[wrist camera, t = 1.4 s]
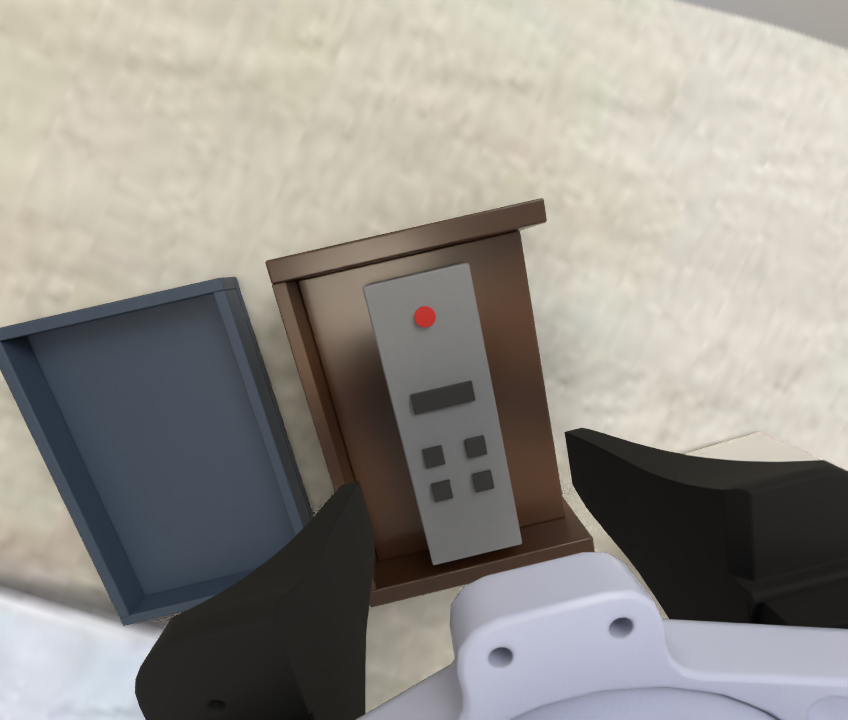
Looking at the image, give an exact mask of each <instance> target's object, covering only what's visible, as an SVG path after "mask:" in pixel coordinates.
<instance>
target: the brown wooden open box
mask: <svg viewBox="0 0 848 720" xmlns="http://www.w3.org/2000/svg"><path fill="white" fill-rule="evenodd" d="M546 220H547V219H546V212H545V205H544V200H543V199H542V198H540V199H536V200H532V201H527V202H523V203H518V204H514V205H510V206H505V207H501V208H496V209H492V210H488V211H483V212H479V213H474V214H470V215H465V216H461V217H457V218H452V219H448V220H443V221H439V222H435V223H430V224H426V225H421V226H417V227H413V228H408V229H404V230H399V231H395V232H391V233H386V234H382V235H377V236H373V237H369V238H364V239H360V240H355V241H351V242H347V243H342V244H338V245H333V246H329V247H325V248H320V249H316V250H311V251H307V252H302V253H298V254H294V255H289V256H285V257H280V258H276V259H272V260H267V261H266V266H267V270H268V273H269V276H270V279H271V283H272V284H273V285H272V287H273V290H274V294H275V297H276V300H277V304H278V307H279V310H280V313H281V317H282V320H283V323H284V326H285V330H286V333H287V336H288V340H289V343H290V346H291V349H292V353H293V356H294V359H295V363H296V366H297V369H298V372H299V376H300V379H301V382H302V386H303V389H304V392H305V395H306V399H307V402H308V405H309V409H310V412H311V415H312V418H313V422H314V425H315V428H316V431H317V435H318V438H319V441H320V445H321V448H322V451H323V454H324V458H325V461H326V464H327V468H328V471H329V474H330V477H331V481H332V484H333V487H334V491H335V492H336V491H337V489H338V488H339V487H340V486H341V485H344V484H349V483H353V482H357V481H359V482H360V486H361V489H362V493H363V496H364V499H365V503H366V506H367V510H368V513H369V517H370V520H371V524H372V527H373V531H374V552H375V560H374V570H373V578H372V587H371V595H370V603H369V604H370V607H375V606H379V605H383V604H387V603H391V602H395V601H399V600H404V599H408V598H412V597H416V596H420V595H424V594H428V593H432V592H436V591H441V590H445V589H449V588H453V587H457V586H461V585H465V584H469V583H472V582H474V581H476V580H478V579H480V578H482V577H484V576H487V575H491V574H496V573H500V572H504V571H508V570H512V569H516V568H520V567H524V566H528V565H533V564H537V563H541V562H545V561H549V560H553V559H557V558H561V557H565V556H570V555H574V554H578V553H582V552H594V544H593V538H592V536H591V535H590V534H589V532H588V531H587V529H586V528H585V527H584V525H583V524H582V523H581V521H580V520H579V519H578V517H577V516H576V514H575V513H574V512H573V510H572V509H571V508H570V506H569V505H568V504H567V502H566V501H565V499H564V498H563V497H562V492H561V486H560V479H559V473H558V467H557V461H556V454H555V448H554V442H553V436H552V429H551V423H550V417H549V411H548V404H547V398H546V392H545V386H544V379H543V373H542V367H541V361H540V354H539V348H538V342H537V336H536V329H535V323H534V317H533V311H532V304H531V298H530V292H529V286H528V279H527V273H526V267H525V261H524V254H523V248H522V242H521V236H520V230H523V229H526V228H529V227H532V226H536V225H539V224H542V223H545V222H546ZM459 263H468V264H469V267H470V272H471V277H472V283H473V288H474V293H475V298H476V303H477V309H478V314H479V319H480V324H481V330H482V335H483V340H484V345H485V350H486V356H487V361H488V366H489V371H490V377H491V382H492V387H493V392H494V397H495V403H496V408H497V413H498V418H499V424H500V429H501V434H502V439H503V445H504V450H505V455H506V460H507V465H508V471H509V476H510V481H511V486H512V492H513V497H514V502H515V507H516V512H517V518H518V523H519V528H520V533H521V539H522V544H520V545H516V546H512V547H507V548H503V549H499V550H495V551H491V552H487V553H483V554H478V555H474V556H470V557H466V558H462V559H458V560H454V561H450V562H445V563H441V564H437V565H433V564H432V560H431V556H430V552H429V548H428V544H427V540H426V536H425V532H424V528H423V524H422V520H421V516H420V512H419V509H418V505H417V501H416V497H415V493H414V489H413V485H412V481H411V477H410V473H409V469H408V465H407V461H406V457H405V453H404V449H403V446H402V442H401V438H400V434H399V430H398V426H397V422H396V418H395V414H394V410H393V406H392V402H391V398H390V394H389V390H388V387H387V383H386V379H385V375H384V371H383V367H382V363H381V359H380V355H379V351H378V347H377V343H376V339H375V335H374V331H373V327H372V324H371V320H370V316H369V312H368V308H367V304H366V300H365V296H364V292H363V287H364V286H366V285H367V284H371V283H376V282H380V281H384V280H389V279H393V278H398V277H402V276H406V275H411V274H415V273H419V272H424V271H428V270H432V269H437V268H441V267H446V266H450V265H454V264H459Z"/></svg>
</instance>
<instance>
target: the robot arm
mask: <svg viewBox="0 0 848 720" xmlns="http://www.w3.org/2000/svg"><path fill="white" fill-rule="evenodd" d="M565 438H566V444H567V451H568V457H569V464H570V470H571V477H572V483H573V486H574V488H575V490H576V491H577V493H578V495H579V496H580V498H581V500H582V501H583V503H584V504H585V506H586V507H587V509H588V510H589V511H590V513H591V514H592V515H593V516H594V518H595V519H596V520H597V521H598V523H599V524H600V525H601V526H602V527H603V529H604V530H605V531H606V532H607V534H608V535H609V536H610V537H611V538H612V540H613V541H614V542H615V543H616V544H617V546H618V547H619V548H620V549H621V550H622V552H623V553H624V554H625V555H626V556H627V558H628V559H629V560H630V561H631V563H632V564H633V565H634V567H635V568H636V569H637V571H638V572H639V574H640V575H641V577H642V578H643V580H644V581H645V583H646V584H647V586H648V587H649V589H650V590H651V591H652V593H653V594H654V596H655V597H656V599H657V601H658V602H659V604H660V605H661V607H662V608H663V610H664V612H665V613H666V615H667V616H668V618H669V619H662V617H661V615H660V613H659V611H658V609H657V607H656V604H655V602H654V601H653V600H652V598H651V597H650V596H649V594H648V593H647V592H646V591H645V589H644V588H643V587H642V585H641V584H640V583H639V581H638V580H637V579H636V578H635V576H634V575H633V574H632V572H631V571H630V570H629V569H628V567H627V566H626V565H625V563H624V562H622V561H621V560H619V559H617V558H615V557H613V556H612V555H610V554H608V553H606V552H582V553H578V554H574V555H570V556H565V557H561V558H557V559H553V560H549V561H545V562H541V563H537V564H533V565H528V566H524V567H520V568H516V569H512V570H508V571H504V572H500V573H496V574H491V575H487V576H484V577H482V578H480V579H478V580H476V581H474V582H472V583H470V584H468V585H466V586H464V587H463V588H462V590H461V591H460V593H459V594H458V595H457V597H456V598H455V599H454V601H453V602H452V603H451V610H450V630H451V637H452V643H453V650H454V657H455V659H454V661H453V662H452V664H450V665H448V666H447V667H445V668H443V669H441V670H440V671H438V672H436V673H435V674H433V675H431V676H429V677H428V678H426V679H424V680H423V681H421V682H419V683H417V684H416V685H414V686H412V687H411V688H409V689H407V690H405V691H404V692H402V693H400V694H399V695H397V696H395V697H393V698H392V699H390V700H388V701H387V702H385V703H383V704H381V705H380V706H378V707H376V708H375V709H373V710H371V711H369V712H368V713H366V714H365V660H366V630H367V619H368V611H369V603H370V595H371V587H372V578H373V570H374V560H375V552H374V531H373V527H372V524H371V520H370V517H369V513H368V510H367V506H366V503H365V499H364V496H363V493H362V489H361V486H360V482H359V481H357V482H353V483H349V484H344V485H341V486H340V487H339V488H338V489H337V491H336V492H335V493H334V494H333V495H332V496H331V497H330V499H329V500H328V501H327V502H326V503H325V505H324V506H323V507H322V508H321V509H320V510H319V512H318V513H317V514H316V515H315V516H314V517H313V518H312V519H311V520H310V521H309V523H308V524H307V525H306V526H305V527H304V528H303V529H302V530H301V531H300V532H299V533H298V534H297V535H296V536H295V537H294V538H293V539H292V540H291V541H290V542H289V543H288V544H287V545H285V546H284V547H283V548H282V549H281V550H280V551H278V552H277V553H276V554H275V555H274V556H273V557H271V558H270V559H269V560H267V561H266V562H265V563H263V564H262V565H261V566H259V567H258V568H257V569H255V570H254V571H252V572H251V573H250V574H248V575H247V576H246V577H244V578H243V579H241V580H240V581H238V582H236V583H235V584H233V585H232V586H230V587H229V588H227V589H225V590H224V591H222V592H220V593H219V594H217V595H215V596H213V597H212V598H210V599H208V600H206V601H204V602H202V603H200V604H198V605H196V606H194V607H193V608H191V609H189V610H187V611H185V612H183V613H181V614H179V615H177V616H175V617H173V618H171V620H170V621H169V623H168V625H167V626H166V628H165V629H164V631H163V632H162V634H161V635H160V637H159V639H158V640H157V642H156V643H155V645H154V646H153V648H152V649H151V651H150V653H149V654H148V656H147V657H146V659H145V660H144V662H143V664H142V665H141V667H140V669H139V672H138V674H137V677H136V682H135V694H136V697H137V700H138V704H139V707H140V709H141V711H142V713H143V715H144V717H145V719H146V720H848V471H846V470H844V469H842V468H840V467H838V466H836V465H833V464H831V463H829V462H827V461H824V460H813V461H784V462H766V461H738V460H725V459H715V458H705V457H698V456H691V455H685V454H680V453H674V452H669V451H664V450H660V449H656V448H652V447H648V446H644V445H640V444H636V443H633V442H630V441H626V440H623V439H620V438H616V437H613V436H610V435H607V434H604V433H600V432H597V431H594V430H590V429H585V428H579V429H575V430H571V431H567V432H565Z"/></svg>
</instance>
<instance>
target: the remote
mask: <svg viewBox="0 0 848 720" xmlns="http://www.w3.org/2000/svg"><path fill="white" fill-rule="evenodd" d="M363 292H364V296H365V300H366V304H367V308H368V312H369V316H370V320H371V324H372V327H373V331H374V335H375V339H376V343H377V347H378V351H379V355H380V359H381V363H382V367H383V371H384V375H385V379H386V383H387V387H388V390H389V394H390V398H391V402H392V406H393V410H394V414H395V418H396V422H397V426H398V430H399V434H400V438H401V442H402V446H403V449H404V453H405V457H406V461H407V465H408V469H409V473H410V477H411V481H412V485H413V489H414V493H415V497H416V501H417V505H418V509H419V512H420V516H421V520H422V524H423V528H424V532H425V536H426V540H427V544H428V548H429V552H430V556H431V560H432V564H433V565H437V564H441V563H445V562H450V561H454V560H458V559H462V558H466V557H470V556H474V555H478V554H483V553H487V552H491V551H495V550H499V549H503V548H507V547H512V546H516V545H520V544H522V539H521V533H520V528H519V523H518V518H517V512H516V507H515V502H514V497H513V492H512V486H511V481H510V476H509V471H508V465H507V460H506V455H505V450H504V445H503V439H502V434H501V429H500V424H499V418H498V413H497V408H496V403H495V397H494V392H493V387H492V382H491V377H490V371H489V366H488V361H487V356H486V350H485V345H484V340H483V335H482V330H481V324H480V319H479V314H478V309H477V303H476V298H475V293H474V288H473V283H472V277H471V272H470V267H469V264H468V263H459V264H454V265H450V266H446V267H441V268H437V269H432V270H428V271H424V272H419V273H415V274H411V275H406V276H402V277H398V278H393V279H389V280H384V281H380V282H376V283H371V284H367V285H366V286H364V287H363Z"/></svg>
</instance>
